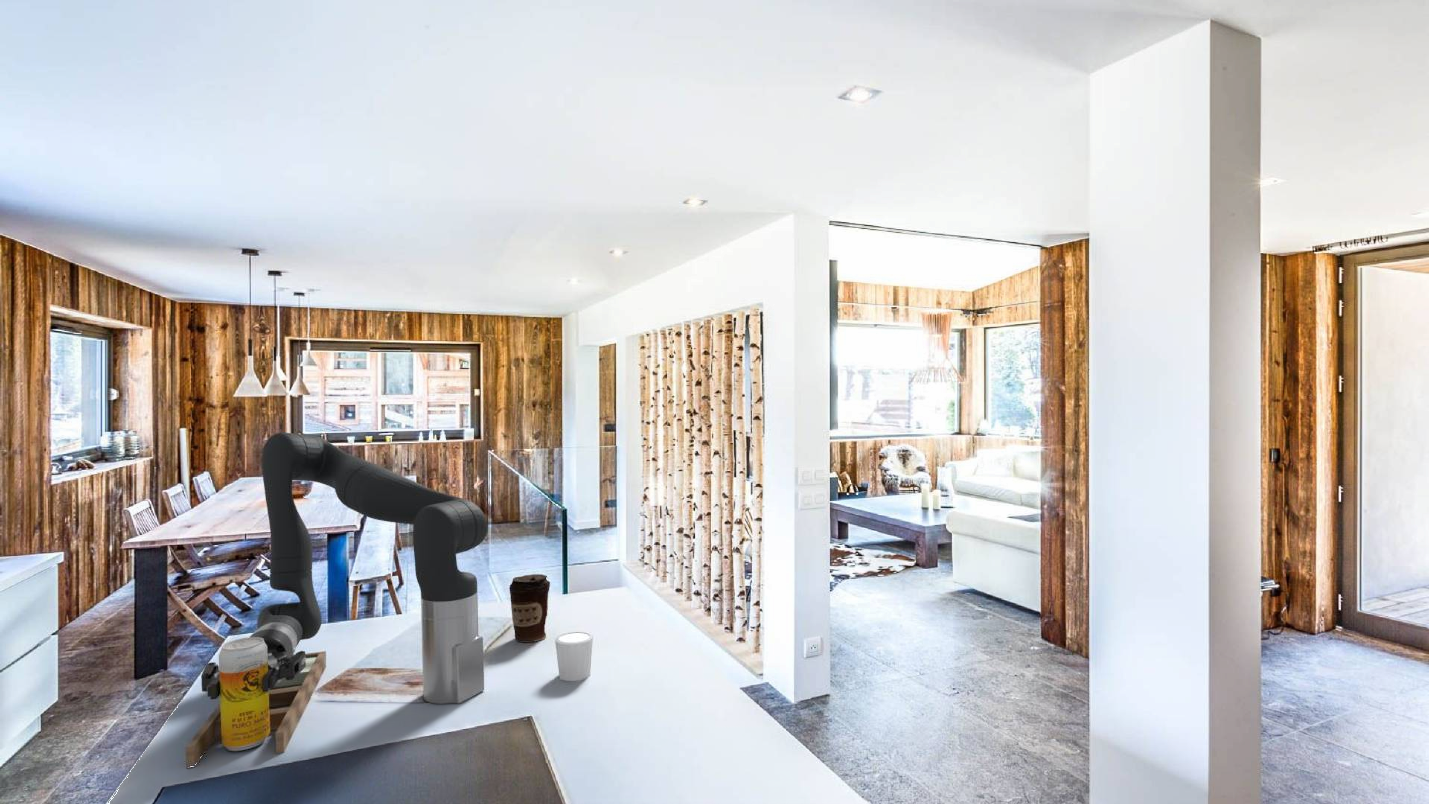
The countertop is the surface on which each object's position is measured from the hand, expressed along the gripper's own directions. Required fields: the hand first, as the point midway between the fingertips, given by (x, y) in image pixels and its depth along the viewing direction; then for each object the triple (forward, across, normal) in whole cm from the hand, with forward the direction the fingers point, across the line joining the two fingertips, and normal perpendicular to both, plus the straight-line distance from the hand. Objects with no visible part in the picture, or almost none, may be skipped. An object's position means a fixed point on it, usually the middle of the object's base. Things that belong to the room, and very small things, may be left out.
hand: (239, 688), depth 106 cm
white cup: (-11, +50, +10) cm, 52 cm away
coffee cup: (-35, +44, +10) cm, 57 cm away
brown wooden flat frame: (-15, 0, +9) cm, 18 cm away
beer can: (-2, 0, +9) cm, 10 cm away
